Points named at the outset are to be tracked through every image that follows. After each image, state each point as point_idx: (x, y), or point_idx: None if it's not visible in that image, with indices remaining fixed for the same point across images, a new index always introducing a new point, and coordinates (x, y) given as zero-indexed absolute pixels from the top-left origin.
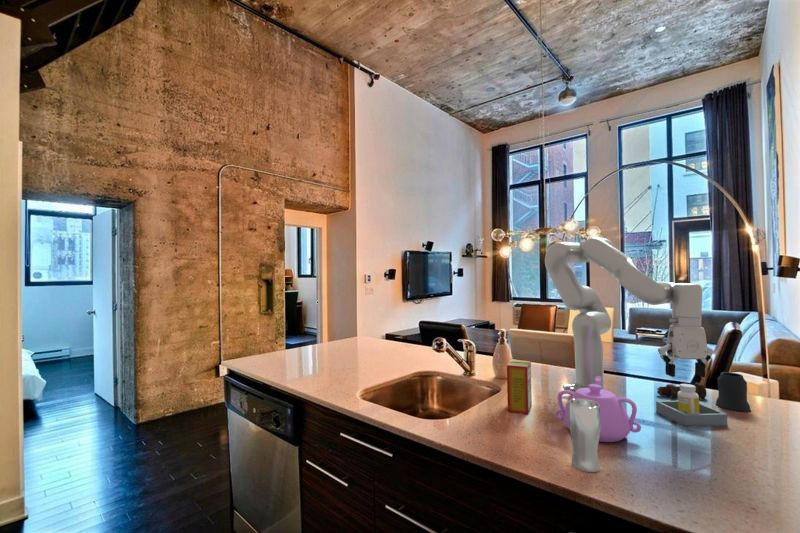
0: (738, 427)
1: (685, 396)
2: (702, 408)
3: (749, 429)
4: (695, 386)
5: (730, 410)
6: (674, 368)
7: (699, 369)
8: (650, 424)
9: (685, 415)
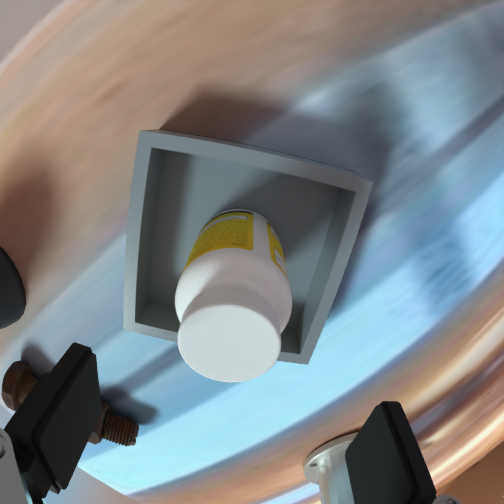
0: (128, 108)
1: (288, 283)
2: (142, 262)
3: (108, 83)
4: (21, 399)
5: (13, 263)
6: (415, 460)
7: (73, 421)
8: (446, 240)
9: (370, 185)
